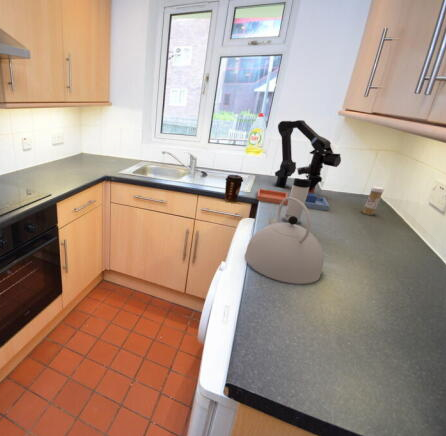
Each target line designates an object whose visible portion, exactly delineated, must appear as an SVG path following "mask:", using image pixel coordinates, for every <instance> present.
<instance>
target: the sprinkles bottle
mask: <svg viewBox="0 0 446 436" xmlns="http://www.w3.org/2000/svg"><path fill="white" fill-rule="evenodd" d="M384 191H385V188H384V187H382V186H378V185H377V186H371V189H370V193H369V195H368V197H367V200H366V202H365V205H364V208H363V211H362V213H363V214H364V215H367V216H374V215H375V212H376V210H377V207H378V206H379V203H380V200H381V197H382V195H383V193H384Z"/></svg>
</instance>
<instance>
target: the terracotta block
mask: <svg viewBox="0 0 446 436" xmlns="http://www.w3.org/2000/svg"><path fill="white" fill-rule="evenodd" d="M316 187H317V185H316V186H315V187H314V188H313V189H312V190H311V191H308V193H311V194H315V189H316Z"/></svg>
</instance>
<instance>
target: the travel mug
mask: <svg viewBox="0 0 446 436" xmlns="http://www.w3.org/2000/svg"><path fill="white" fill-rule="evenodd" d="M310 183H311V180H308V179H307V178H299V177H295V178H294V180H293V183H292V187H291V190H290V194H289V197H292V198H295V199H297V200H299V201H301V202H302V203H303V204H305V201H306V198H307V194H308V191H309V187H310ZM303 211H304V209H303V207H302V206H301V205H300V204H299V203H297V202H295V201H293V200H288V204H287V205H286V209H285V213H284V218H283V221H284V222H285V223H289V222H288V219H289V218H290V217H291V216H295V217H296V218H297V219H298V222H297V223H296V224H295V225H297V224H299V223H300V221H301V218H302V214H303Z"/></svg>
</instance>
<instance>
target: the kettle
mask: <svg viewBox="0 0 446 436" xmlns="http://www.w3.org/2000/svg"><path fill="white" fill-rule="evenodd" d="M286 200H288V201H289V200H293V201H295V202H297V203H299V204H300V205H301V206H302V207H303V211H304V212H305V216H306V223H307V224H306V228H304V227H303V226H301V225H297V224H298V223H297V222H298V219H297V218H296V217H295V216H291V217H290V218H289V219H288V222H289V223H288V222H281V214H282V213H281V212H282V208H283V206H284V202H285V201H286ZM311 221H312V220H311V214H310V212H309V208H307V207H306V206H305V205H304V204H303V203H302V202H301V201H299V200H297V199H295V198H292V197H290V196H288V197H287V198H285V199H284V200H283V201H282V202H281V204H279V206H278V209H277V219H276V218H275V217H270V218H268V225H266V226H264V227H262V228H261V229H259V230H258V231H256V232H255V233H254V235H252V237H250V240H249V242H248V243H247V247H246V250H245V253H244V261H245V262H246V264H247V265H248V266H249V267H250V268H252V270H254V271H256V272H257V273H259V274H262V276H265V277H267V278H270V279H273V280H277V281H279V282H282V283H283V282H284V283H289V284H295V285H304V284H305V285H306V284H307V285H308V284H312V283H315V282H317V281H318V280H319V279H320V278H321V274H322V270H323V268H324V267H323V266H324V260H325V259H324V258H325V257H324V251H323V249H322V246H321V244H320V242H319V241H318V239H317V238H316V237H315V236H314V235H313V234H312V233H311V232H310V231H311V225H312V224H311V223H312V222H311ZM296 223H297V224H296Z"/></svg>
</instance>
